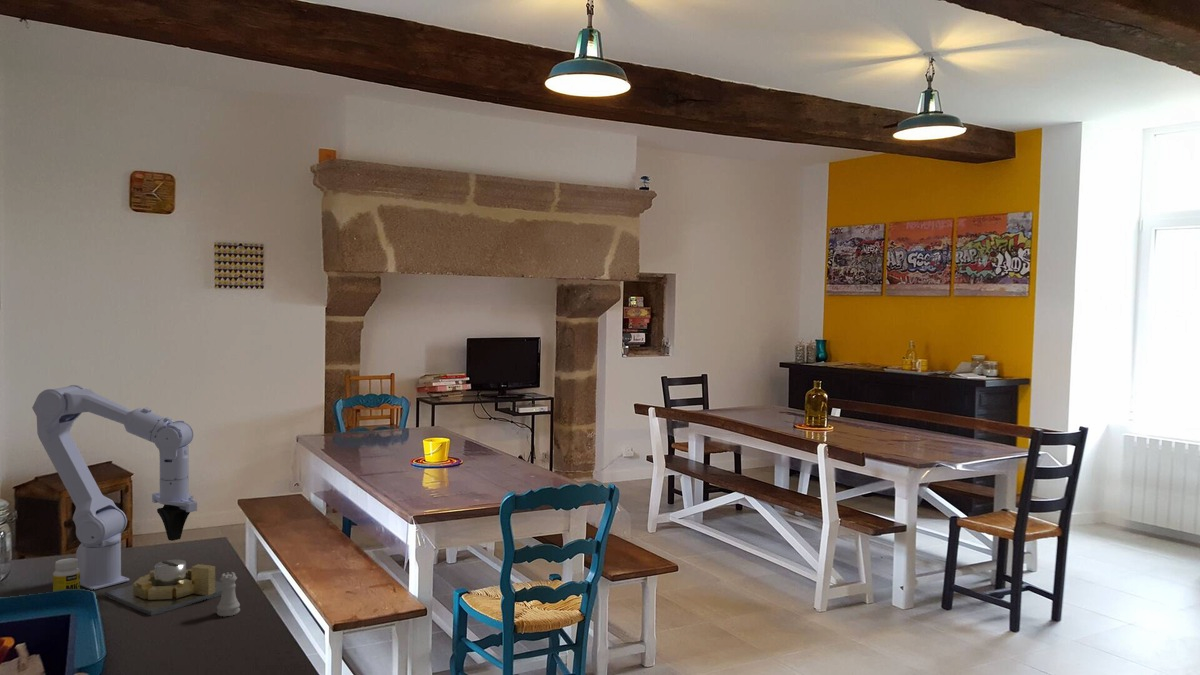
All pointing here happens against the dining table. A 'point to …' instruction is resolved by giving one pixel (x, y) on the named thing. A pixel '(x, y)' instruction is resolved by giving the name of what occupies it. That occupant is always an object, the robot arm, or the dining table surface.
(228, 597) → the rook chess piece
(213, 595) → the flange plate
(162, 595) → the tan hexagonal frame
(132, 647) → the dining table surface
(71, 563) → the supplement bottle
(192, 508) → the robot arm
